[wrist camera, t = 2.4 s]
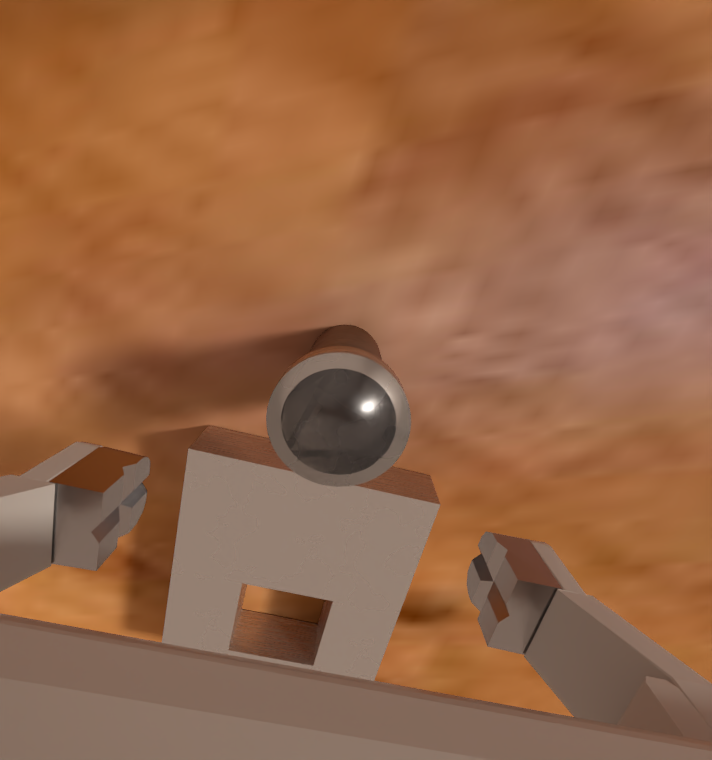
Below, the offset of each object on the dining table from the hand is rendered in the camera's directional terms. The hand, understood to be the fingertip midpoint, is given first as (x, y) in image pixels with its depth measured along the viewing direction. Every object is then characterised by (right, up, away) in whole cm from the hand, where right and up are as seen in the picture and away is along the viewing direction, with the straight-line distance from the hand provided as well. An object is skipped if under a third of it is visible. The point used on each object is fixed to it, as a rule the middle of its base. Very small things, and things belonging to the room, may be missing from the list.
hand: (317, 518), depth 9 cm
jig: (-3, -8, +17) cm, 19 cm away
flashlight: (0, +4, +13) cm, 13 cm away
